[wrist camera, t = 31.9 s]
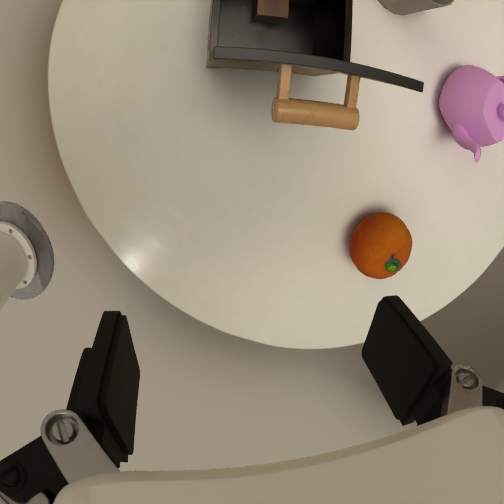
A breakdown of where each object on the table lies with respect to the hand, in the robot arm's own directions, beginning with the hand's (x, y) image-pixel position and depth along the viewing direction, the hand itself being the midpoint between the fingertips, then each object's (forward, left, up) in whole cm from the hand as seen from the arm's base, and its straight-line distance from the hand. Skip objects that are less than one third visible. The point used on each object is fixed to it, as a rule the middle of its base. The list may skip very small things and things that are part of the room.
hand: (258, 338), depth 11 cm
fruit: (+26, -12, -34) cm, 45 cm away
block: (+6, +21, -34) cm, 40 cm away
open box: (+6, +18, -34) cm, 39 cm away
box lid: (+6, +12, -17) cm, 21 cm away
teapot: (+41, +13, -34) cm, 55 cm away
